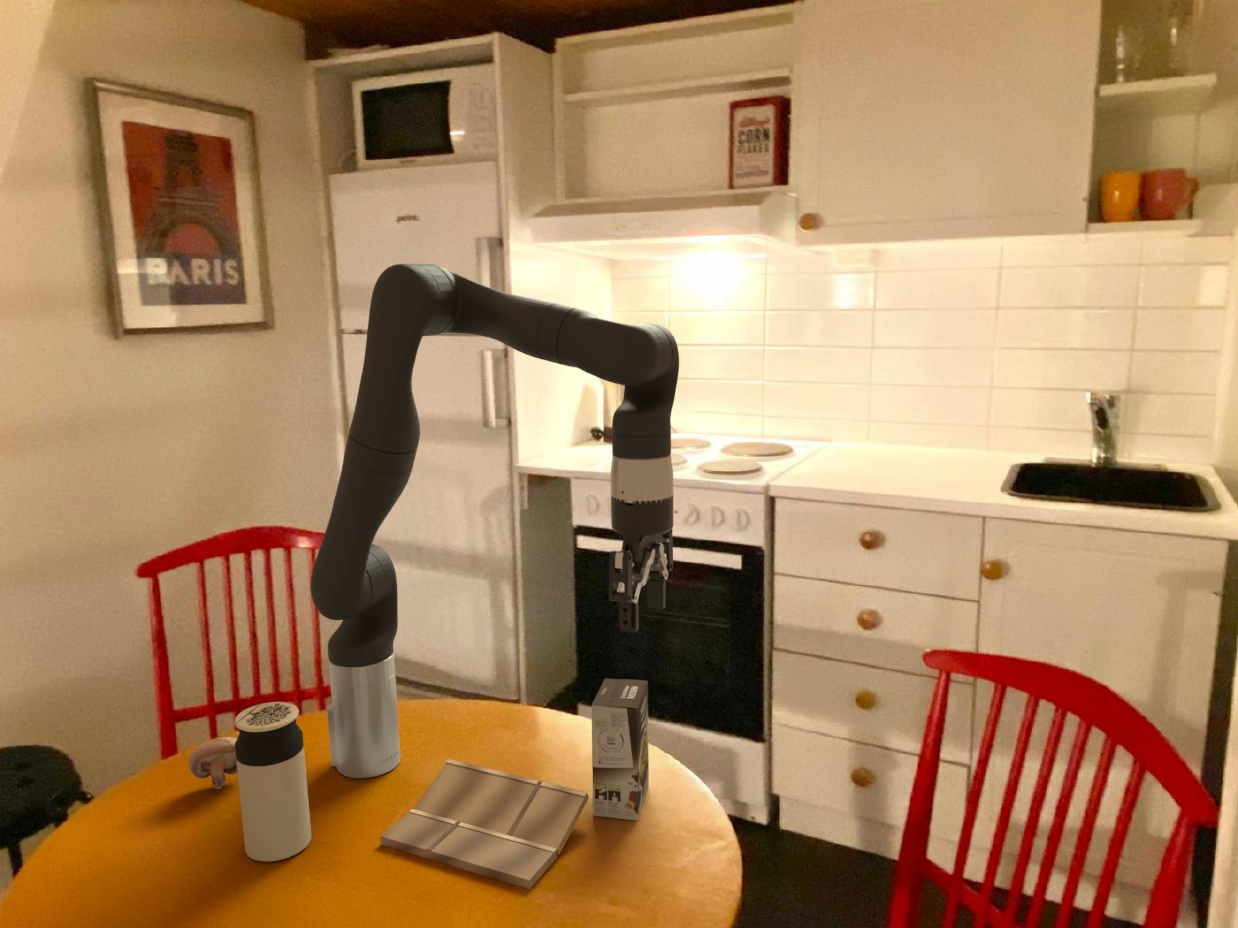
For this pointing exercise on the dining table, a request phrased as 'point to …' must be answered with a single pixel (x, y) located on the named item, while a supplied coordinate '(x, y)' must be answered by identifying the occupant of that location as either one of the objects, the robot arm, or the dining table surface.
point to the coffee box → (620, 748)
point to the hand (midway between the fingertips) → (643, 619)
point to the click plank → (504, 803)
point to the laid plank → (470, 848)
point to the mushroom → (214, 760)
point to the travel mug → (272, 781)
